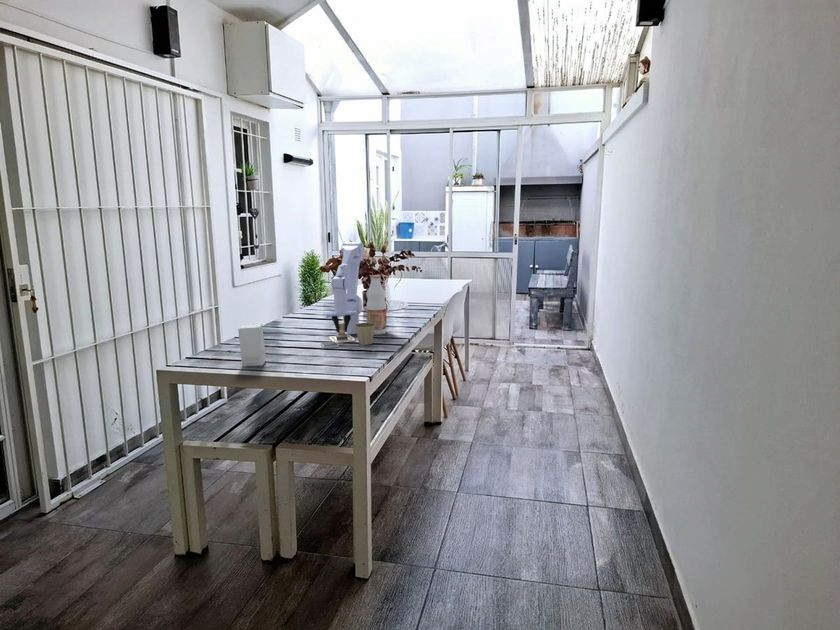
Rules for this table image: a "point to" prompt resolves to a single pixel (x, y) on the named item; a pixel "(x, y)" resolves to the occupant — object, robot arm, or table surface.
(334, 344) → the ink pad
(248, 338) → the skincare box
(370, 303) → the fruit juice
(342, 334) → the stamp
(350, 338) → the print card
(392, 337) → the table surface
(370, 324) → the flower pot
